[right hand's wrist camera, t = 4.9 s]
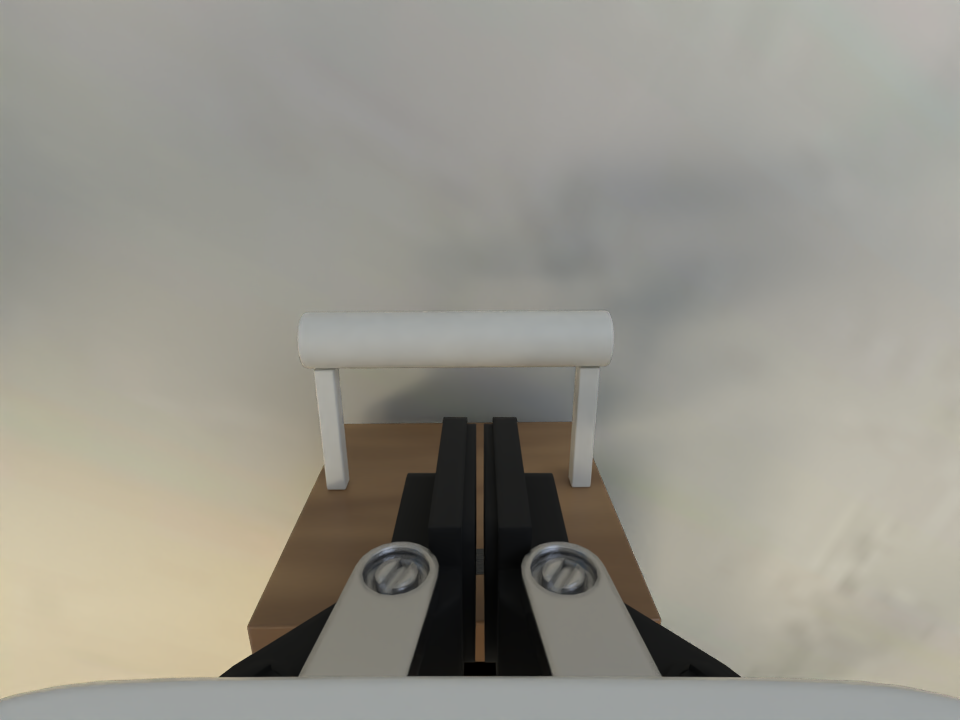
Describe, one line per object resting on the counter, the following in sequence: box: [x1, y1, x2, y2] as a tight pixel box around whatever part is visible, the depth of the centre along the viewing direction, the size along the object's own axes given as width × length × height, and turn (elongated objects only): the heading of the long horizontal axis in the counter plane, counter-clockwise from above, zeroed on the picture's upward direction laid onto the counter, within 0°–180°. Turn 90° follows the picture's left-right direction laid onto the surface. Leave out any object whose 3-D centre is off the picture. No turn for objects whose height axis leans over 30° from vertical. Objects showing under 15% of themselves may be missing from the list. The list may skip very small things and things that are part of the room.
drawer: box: [247, 310, 661, 676], centre depth 18 cm, size 22×9×10 cm, turn 0°
